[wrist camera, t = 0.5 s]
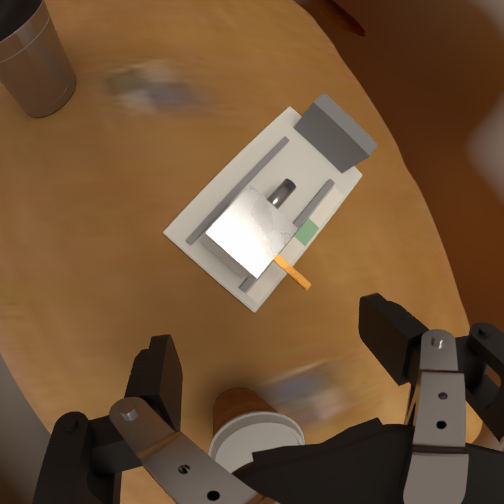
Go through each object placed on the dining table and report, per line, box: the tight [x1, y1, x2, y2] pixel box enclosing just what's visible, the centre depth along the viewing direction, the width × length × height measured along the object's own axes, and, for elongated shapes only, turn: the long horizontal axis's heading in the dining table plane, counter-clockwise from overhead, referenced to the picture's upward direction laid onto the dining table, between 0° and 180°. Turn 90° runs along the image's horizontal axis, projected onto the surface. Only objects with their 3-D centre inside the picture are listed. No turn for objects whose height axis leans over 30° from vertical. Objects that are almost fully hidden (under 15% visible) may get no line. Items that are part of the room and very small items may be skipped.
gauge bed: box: [163, 93, 378, 313], centre depth 33 cm, size 14×24×8 cm, turn 139°
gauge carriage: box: [201, 179, 311, 290], centre depth 31 cm, size 11×11×8 cm
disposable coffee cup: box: [209, 388, 305, 473], centre depth 29 cm, size 10×10×12 cm
